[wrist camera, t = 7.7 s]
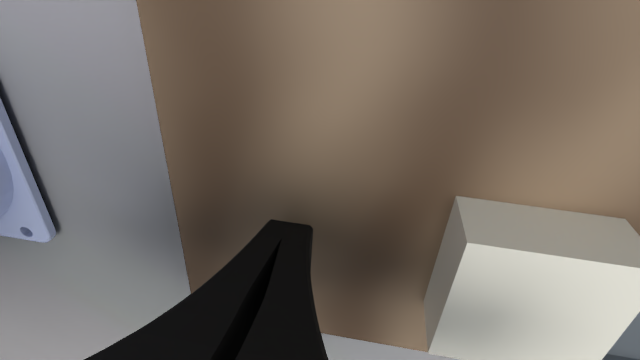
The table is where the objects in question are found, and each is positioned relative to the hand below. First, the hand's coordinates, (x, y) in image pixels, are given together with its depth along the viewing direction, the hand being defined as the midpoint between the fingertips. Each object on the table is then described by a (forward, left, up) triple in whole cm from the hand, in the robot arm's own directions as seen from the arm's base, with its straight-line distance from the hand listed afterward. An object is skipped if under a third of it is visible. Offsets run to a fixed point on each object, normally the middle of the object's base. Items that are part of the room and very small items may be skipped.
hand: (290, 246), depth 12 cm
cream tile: (+7, 0, -1) cm, 7 cm away
